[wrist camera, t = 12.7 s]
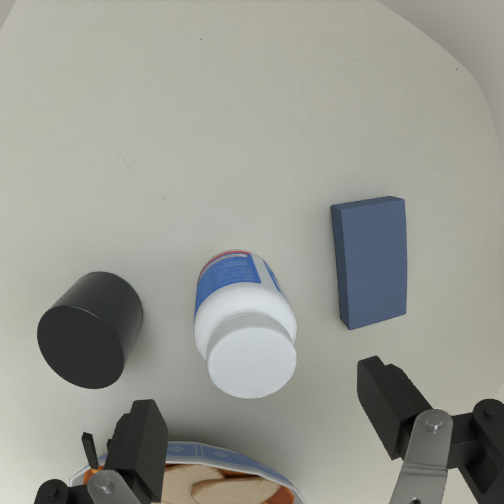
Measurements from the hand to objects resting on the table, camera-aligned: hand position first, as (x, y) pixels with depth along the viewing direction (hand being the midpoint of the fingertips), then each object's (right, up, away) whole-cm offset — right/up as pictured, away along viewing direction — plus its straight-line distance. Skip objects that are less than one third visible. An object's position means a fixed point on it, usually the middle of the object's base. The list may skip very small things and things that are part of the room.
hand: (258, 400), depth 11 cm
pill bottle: (-1, +3, +12) cm, 12 cm away
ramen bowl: (-7, -17, +17) cm, 25 cm away
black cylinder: (-11, +1, +11) cm, 16 cm away
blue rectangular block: (+8, +5, +12) cm, 16 cm away
